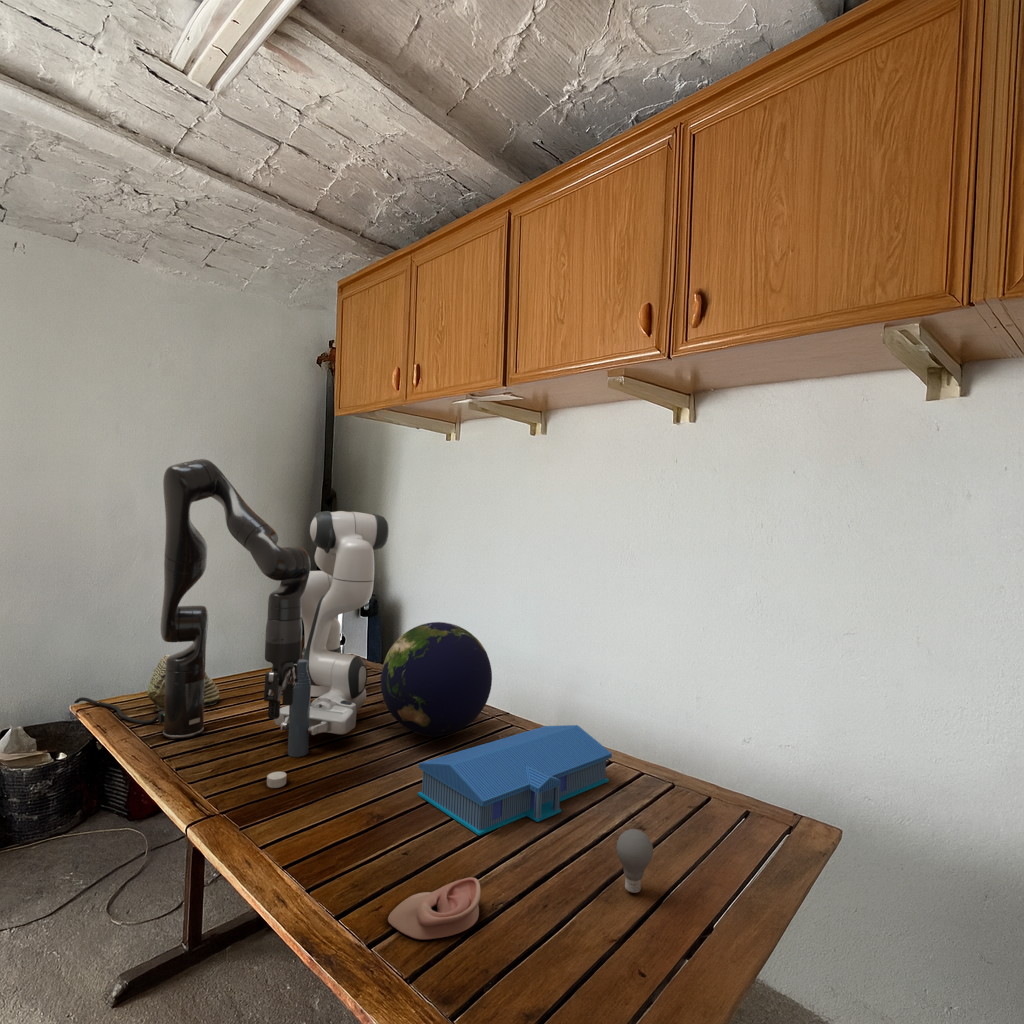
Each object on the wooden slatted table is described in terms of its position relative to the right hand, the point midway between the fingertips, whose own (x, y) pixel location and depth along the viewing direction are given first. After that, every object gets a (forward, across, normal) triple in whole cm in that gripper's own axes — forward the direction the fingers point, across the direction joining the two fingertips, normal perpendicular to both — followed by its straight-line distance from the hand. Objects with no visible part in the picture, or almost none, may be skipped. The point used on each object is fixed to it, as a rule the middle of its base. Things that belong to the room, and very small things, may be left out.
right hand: (296, 729), depth 155 cm
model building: (0, +57, +6) cm, 57 cm away
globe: (-25, +26, +6) cm, 37 cm away
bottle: (-1, 0, +6) cm, 6 cm away
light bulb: (+30, +83, +6) cm, 88 cm away
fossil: (-19, -49, +6) cm, 53 cm away
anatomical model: (+46, +54, +6) cm, 71 cm away
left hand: (+15, +5, -10) cm, 18 cm away
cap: (+15, +5, +5) cm, 17 cm away
